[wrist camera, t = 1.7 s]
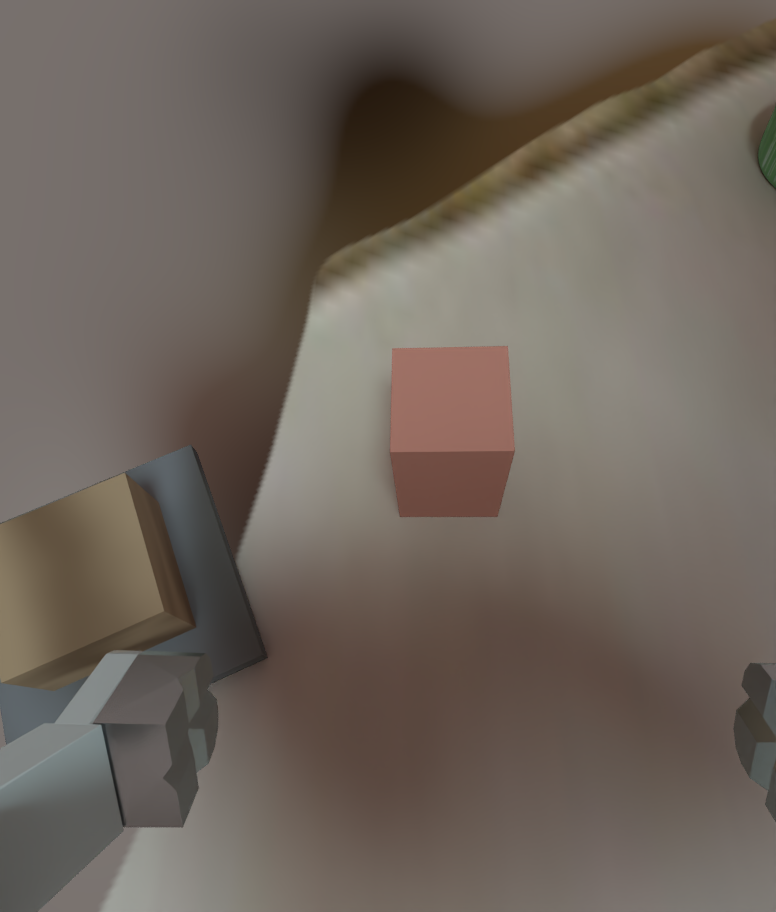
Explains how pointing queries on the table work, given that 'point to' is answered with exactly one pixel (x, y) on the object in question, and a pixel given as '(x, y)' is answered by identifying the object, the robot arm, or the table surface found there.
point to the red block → (451, 430)
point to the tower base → (201, 580)
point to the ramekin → (769, 151)
